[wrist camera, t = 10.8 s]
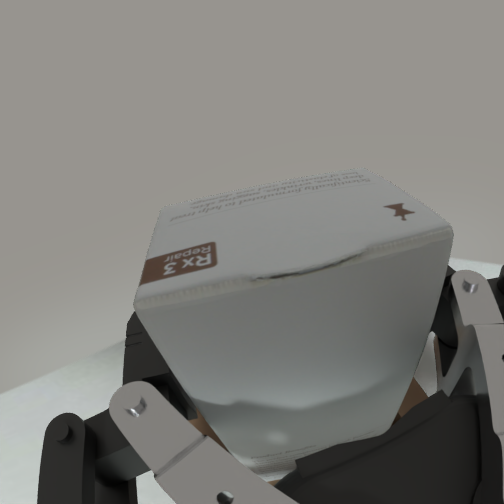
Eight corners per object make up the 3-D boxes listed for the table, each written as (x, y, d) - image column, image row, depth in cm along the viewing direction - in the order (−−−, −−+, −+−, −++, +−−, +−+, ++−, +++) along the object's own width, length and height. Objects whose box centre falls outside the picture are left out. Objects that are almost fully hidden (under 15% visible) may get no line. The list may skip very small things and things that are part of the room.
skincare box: (351, 389, 15) (366, 157, 8) (380, 458, 11) (469, 221, 5) (239, 416, 14) (158, 197, 8) (251, 491, 11) (122, 299, 4)
